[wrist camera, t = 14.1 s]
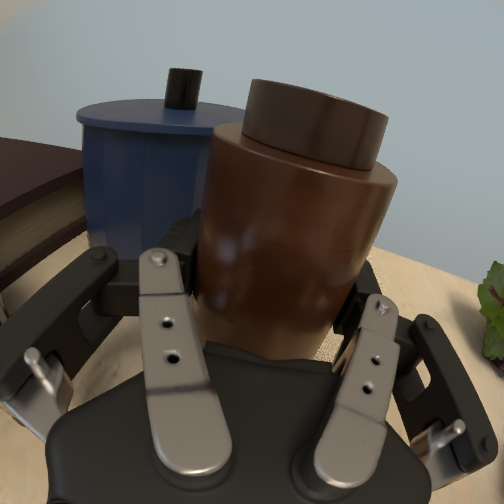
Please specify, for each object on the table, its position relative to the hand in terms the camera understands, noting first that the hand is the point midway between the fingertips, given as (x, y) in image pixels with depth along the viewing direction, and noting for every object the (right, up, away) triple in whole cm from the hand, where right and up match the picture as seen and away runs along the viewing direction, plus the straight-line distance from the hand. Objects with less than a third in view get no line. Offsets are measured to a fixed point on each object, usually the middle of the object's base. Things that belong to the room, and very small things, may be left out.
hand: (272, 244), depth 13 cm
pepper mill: (-2, -7, +2) cm, 7 cm away
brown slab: (-31, +3, +7) cm, 32 cm away
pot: (-8, +1, +12) cm, 14 cm away
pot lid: (-6, +10, +6) cm, 13 cm away
